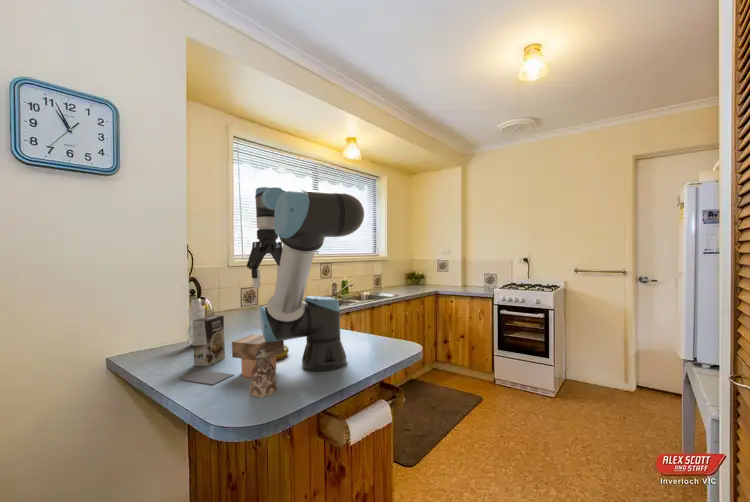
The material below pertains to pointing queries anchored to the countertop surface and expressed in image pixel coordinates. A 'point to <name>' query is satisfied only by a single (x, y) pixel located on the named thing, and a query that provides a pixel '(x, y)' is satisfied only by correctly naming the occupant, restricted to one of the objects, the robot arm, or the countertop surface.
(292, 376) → the countertop surface
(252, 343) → the brown wooden block
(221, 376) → the mat
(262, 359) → the figurine
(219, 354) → the coffee box
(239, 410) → the countertop surface
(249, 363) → the bowl
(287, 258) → the robot arm
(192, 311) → the plastic bottle
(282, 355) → the decorated donut
